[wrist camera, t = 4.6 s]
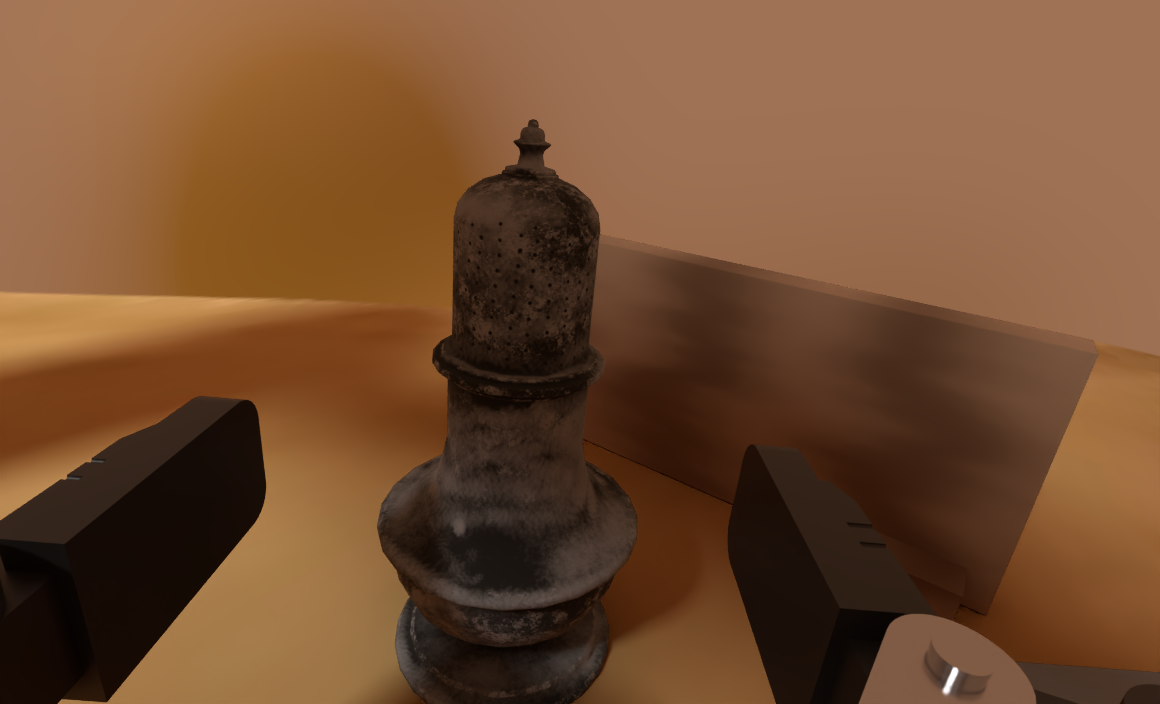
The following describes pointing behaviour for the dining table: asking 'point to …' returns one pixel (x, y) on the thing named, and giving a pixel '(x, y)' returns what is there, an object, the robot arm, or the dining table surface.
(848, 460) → the walnut screen
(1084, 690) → the dark mat
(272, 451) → the dining table surface
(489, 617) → the dark metal turned piece
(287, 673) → the dining table surface
